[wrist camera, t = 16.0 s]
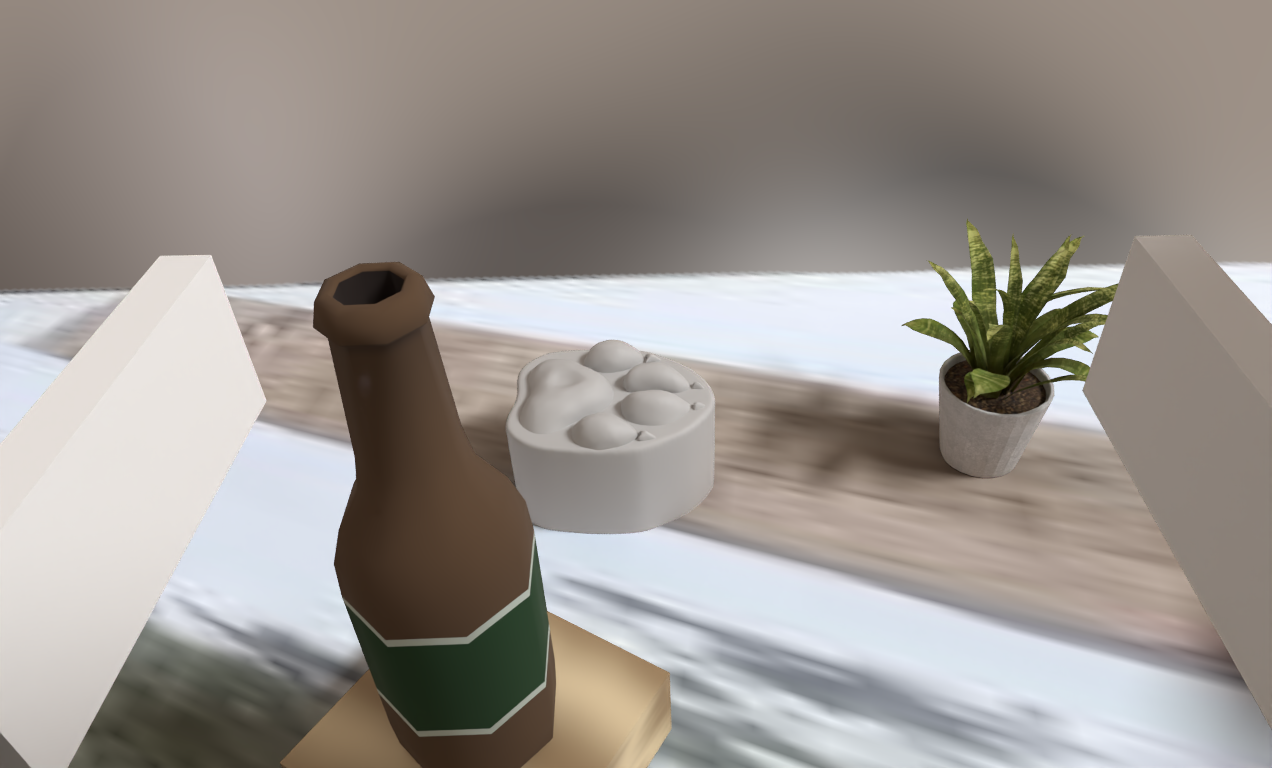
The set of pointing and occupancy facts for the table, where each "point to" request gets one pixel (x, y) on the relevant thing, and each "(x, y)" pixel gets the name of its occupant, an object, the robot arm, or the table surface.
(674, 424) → the lumpy-topped squat cylinder
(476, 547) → the beer bottle
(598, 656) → the olive wood block
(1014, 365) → the house plant
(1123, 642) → the table surface
